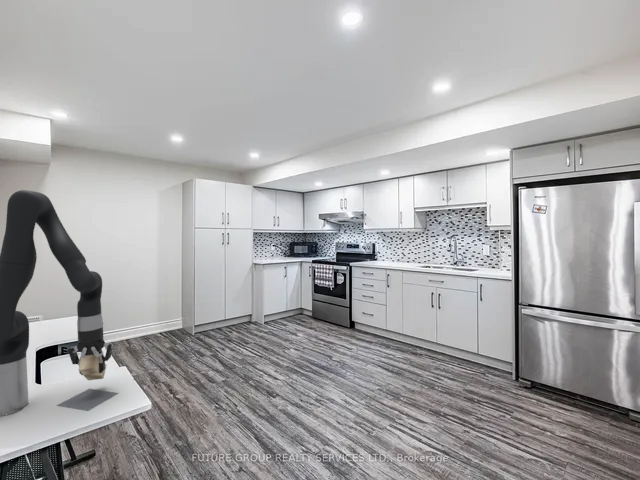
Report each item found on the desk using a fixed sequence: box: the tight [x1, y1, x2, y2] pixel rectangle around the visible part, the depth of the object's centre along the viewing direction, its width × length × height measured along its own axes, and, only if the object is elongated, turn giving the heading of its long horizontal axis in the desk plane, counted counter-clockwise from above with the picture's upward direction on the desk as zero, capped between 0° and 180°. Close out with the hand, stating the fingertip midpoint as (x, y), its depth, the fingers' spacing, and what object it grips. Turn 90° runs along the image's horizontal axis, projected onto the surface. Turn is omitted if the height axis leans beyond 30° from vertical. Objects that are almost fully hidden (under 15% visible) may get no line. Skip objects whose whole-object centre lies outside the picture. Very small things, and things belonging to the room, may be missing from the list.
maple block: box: [77, 355, 107, 381], centre depth 118 cm, size 5×5×10 cm
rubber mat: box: [56, 388, 119, 412], centre depth 115 cm, size 14×12×1 cm
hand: (92, 373), depth 117 cm, fingers closed on maple block, 5 cm apart
